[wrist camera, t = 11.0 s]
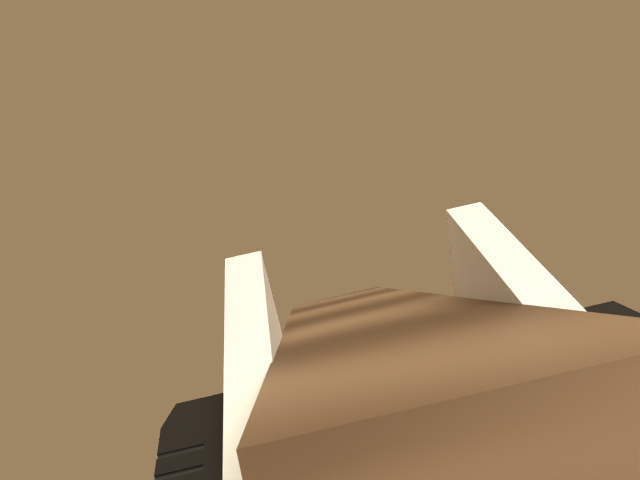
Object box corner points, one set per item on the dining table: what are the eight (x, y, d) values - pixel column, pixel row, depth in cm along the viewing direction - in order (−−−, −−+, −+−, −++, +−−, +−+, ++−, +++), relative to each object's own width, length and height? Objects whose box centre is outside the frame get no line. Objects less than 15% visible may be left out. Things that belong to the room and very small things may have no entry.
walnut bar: (312, 391, 28) (293, 306, 29) (396, 371, 28) (376, 287, 29) (355, 1008, 4) (235, 449, 5) (885, 865, 4) (746, 329, 5)
